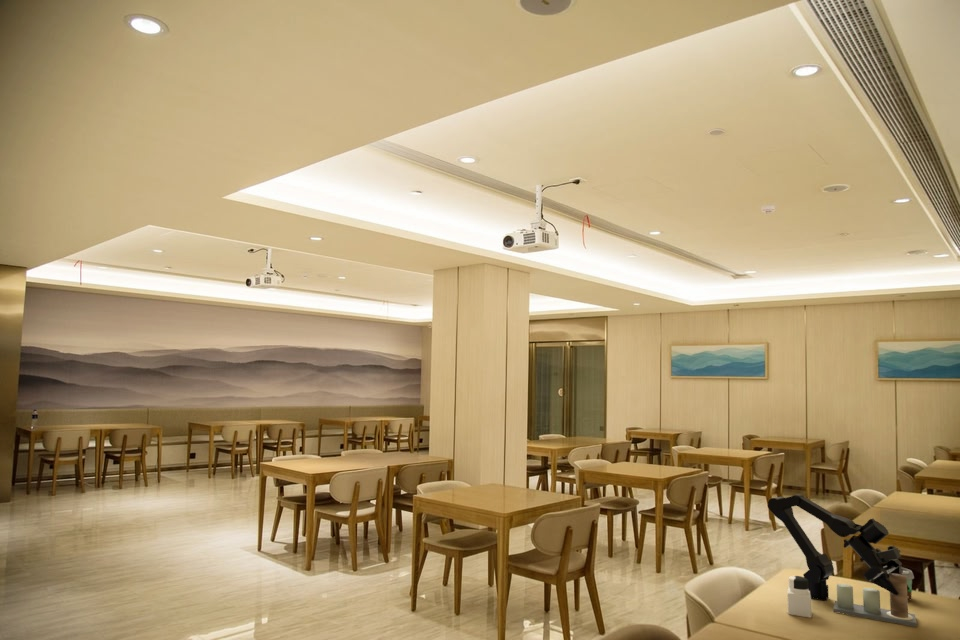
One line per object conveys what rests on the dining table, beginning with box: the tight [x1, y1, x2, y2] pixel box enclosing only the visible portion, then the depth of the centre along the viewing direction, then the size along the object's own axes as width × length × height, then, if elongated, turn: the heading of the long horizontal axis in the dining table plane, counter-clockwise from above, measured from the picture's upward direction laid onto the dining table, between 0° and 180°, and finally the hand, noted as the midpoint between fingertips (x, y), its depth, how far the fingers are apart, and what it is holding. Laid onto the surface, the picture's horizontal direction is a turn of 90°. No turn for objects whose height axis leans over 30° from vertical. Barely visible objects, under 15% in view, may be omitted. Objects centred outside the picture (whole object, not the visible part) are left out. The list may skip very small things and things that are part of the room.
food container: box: [901, 566, 915, 601], centre depth 240 cm, size 12×6×10 cm, turn 168°
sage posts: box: [836, 583, 881, 614], centre depth 222 cm, size 13×5×7 cm, turn 58°
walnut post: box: [888, 573, 909, 618], centre depth 216 cm, size 5×5×13 cm
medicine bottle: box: [786, 575, 813, 618], centre depth 220 cm, size 7×7×12 cm
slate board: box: [832, 600, 918, 628], centre depth 219 cm, size 24×10×1 cm, turn 58°
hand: (903, 592), depth 215 cm, fingers open, 9 cm apart
